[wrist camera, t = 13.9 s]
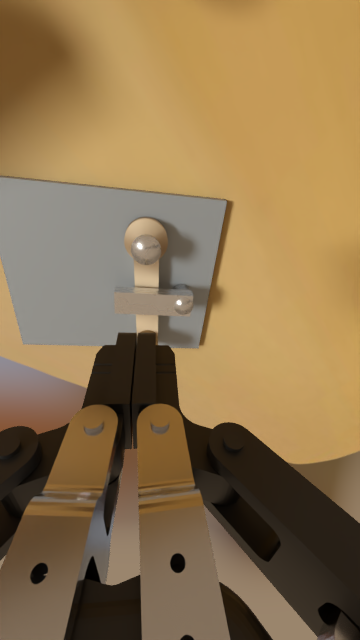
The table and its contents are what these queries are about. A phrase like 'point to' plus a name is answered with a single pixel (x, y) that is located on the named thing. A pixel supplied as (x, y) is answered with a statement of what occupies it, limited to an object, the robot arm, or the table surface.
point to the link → (146, 266)
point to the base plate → (99, 258)
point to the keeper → (152, 299)
